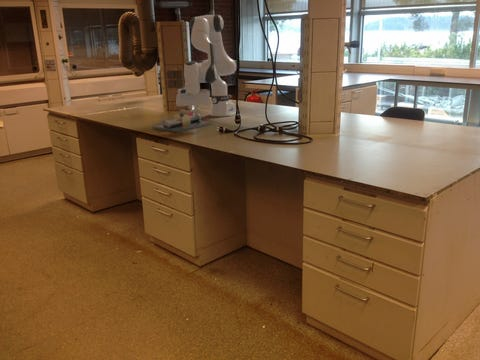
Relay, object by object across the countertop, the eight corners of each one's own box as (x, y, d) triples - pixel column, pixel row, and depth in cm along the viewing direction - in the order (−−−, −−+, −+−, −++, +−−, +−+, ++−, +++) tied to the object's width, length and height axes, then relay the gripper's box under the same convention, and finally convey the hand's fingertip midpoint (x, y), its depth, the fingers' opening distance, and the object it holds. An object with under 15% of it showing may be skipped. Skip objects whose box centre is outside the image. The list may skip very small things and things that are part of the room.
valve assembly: (187, 121, 300) (186, 110, 298) (211, 124, 287) (211, 113, 285) (152, 128, 278) (151, 117, 276) (178, 132, 265) (177, 120, 263)
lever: (178, 114, 281) (177, 109, 280) (183, 114, 283) (183, 108, 282) (188, 118, 267) (188, 112, 266) (194, 117, 269) (193, 112, 268)
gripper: (209, 88, 271) (210, 111, 276) (175, 90, 268) (176, 113, 272) (210, 89, 266) (211, 112, 270) (175, 91, 262) (177, 114, 266)
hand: (193, 112), depth 271 cm, fingers closed
